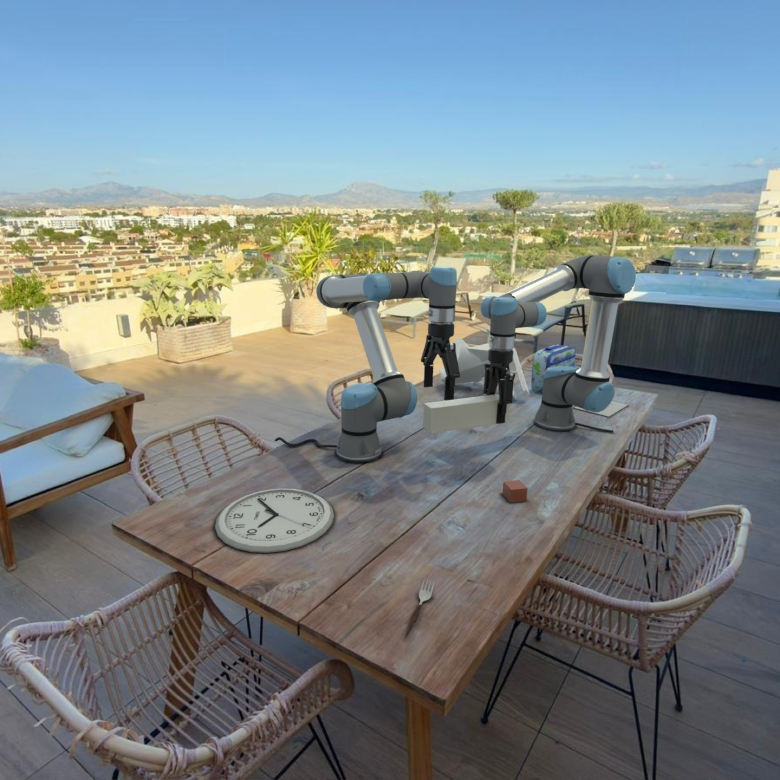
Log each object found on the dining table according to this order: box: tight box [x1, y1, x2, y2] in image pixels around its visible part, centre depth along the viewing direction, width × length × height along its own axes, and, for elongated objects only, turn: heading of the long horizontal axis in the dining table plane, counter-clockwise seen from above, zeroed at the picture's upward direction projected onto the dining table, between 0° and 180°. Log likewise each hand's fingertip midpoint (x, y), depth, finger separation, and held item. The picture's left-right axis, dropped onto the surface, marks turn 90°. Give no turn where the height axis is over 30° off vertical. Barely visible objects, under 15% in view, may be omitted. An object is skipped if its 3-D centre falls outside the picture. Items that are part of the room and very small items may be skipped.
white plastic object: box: [438, 338, 531, 400], centre depth 245 cm, size 37×45×31 cm
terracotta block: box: [502, 479, 528, 503], centre depth 148 cm, size 5×5×4 cm
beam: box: [422, 393, 512, 434], centre depth 162 cm, size 28×5×8 cm, turn 112°
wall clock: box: [214, 488, 335, 554], centre depth 135 cm, size 30×2×30 cm
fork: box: [405, 577, 435, 637], centre depth 104 cm, size 3×16×2 cm, turn 160°
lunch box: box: [530, 344, 577, 392], centre depth 247 cm, size 26×11×21 cm, turn 134°
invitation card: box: [573, 400, 629, 418], centre depth 226 cm, size 21×1×15 cm
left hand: (438, 393), depth 156 cm, fingers open, 13 cm apart
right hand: (495, 419), depth 167 cm, fingers closed on beam, 5 cm apart
